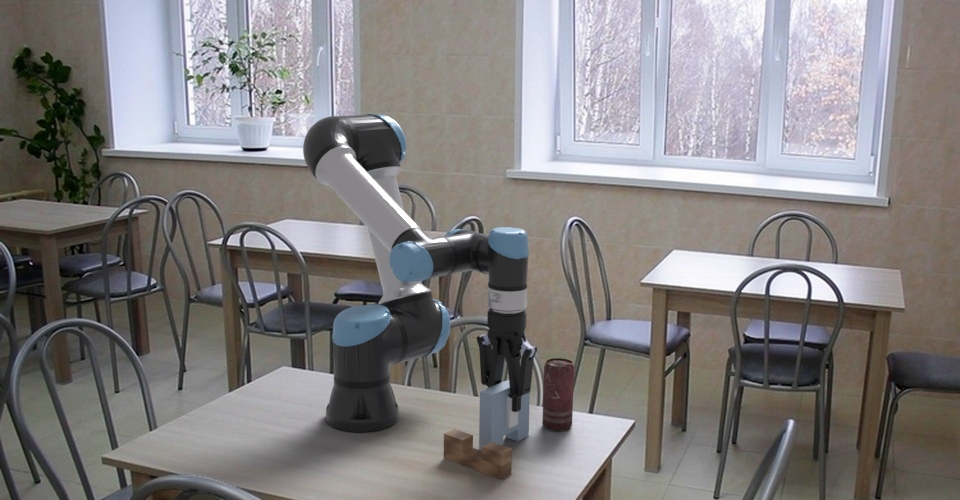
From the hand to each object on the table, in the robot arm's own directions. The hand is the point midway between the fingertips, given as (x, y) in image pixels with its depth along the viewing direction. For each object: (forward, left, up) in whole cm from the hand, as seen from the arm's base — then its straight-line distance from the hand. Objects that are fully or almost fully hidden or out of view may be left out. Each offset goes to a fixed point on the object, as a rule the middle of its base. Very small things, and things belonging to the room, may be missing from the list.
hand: (504, 423), depth 193 cm
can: (+3, +14, -4) cm, 15 cm away
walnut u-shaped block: (+3, -12, -4) cm, 13 cm away
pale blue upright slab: (0, 0, -4) cm, 4 cm away
